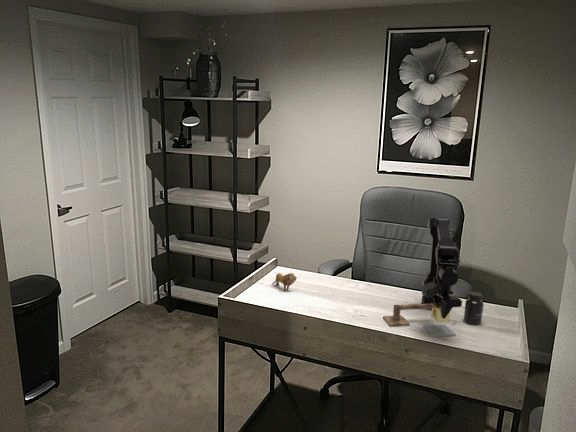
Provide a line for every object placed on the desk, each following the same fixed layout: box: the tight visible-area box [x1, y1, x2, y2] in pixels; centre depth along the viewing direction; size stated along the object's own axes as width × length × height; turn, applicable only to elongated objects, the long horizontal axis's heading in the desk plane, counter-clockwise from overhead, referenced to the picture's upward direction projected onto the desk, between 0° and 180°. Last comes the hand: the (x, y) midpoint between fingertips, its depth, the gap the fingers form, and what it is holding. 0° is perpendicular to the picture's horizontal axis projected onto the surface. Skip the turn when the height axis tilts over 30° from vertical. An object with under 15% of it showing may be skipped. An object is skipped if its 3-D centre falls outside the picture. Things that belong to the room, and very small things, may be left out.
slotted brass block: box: [430, 303, 451, 323], centre depth 183 cm, size 5×5×6 cm
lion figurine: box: [272, 272, 297, 292], centre depth 225 cm, size 15×5×9 cm, turn 46°
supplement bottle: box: [463, 291, 485, 326], centre depth 193 cm, size 7×7×12 cm
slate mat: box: [422, 324, 457, 338], centre depth 184 cm, size 9×9×1 cm
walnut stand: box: [382, 303, 434, 328], centre depth 192 cm, size 20×8×7 cm, turn 99°
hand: (440, 315), depth 183 cm, fingers closed on slotted brass block, 5 cm apart
